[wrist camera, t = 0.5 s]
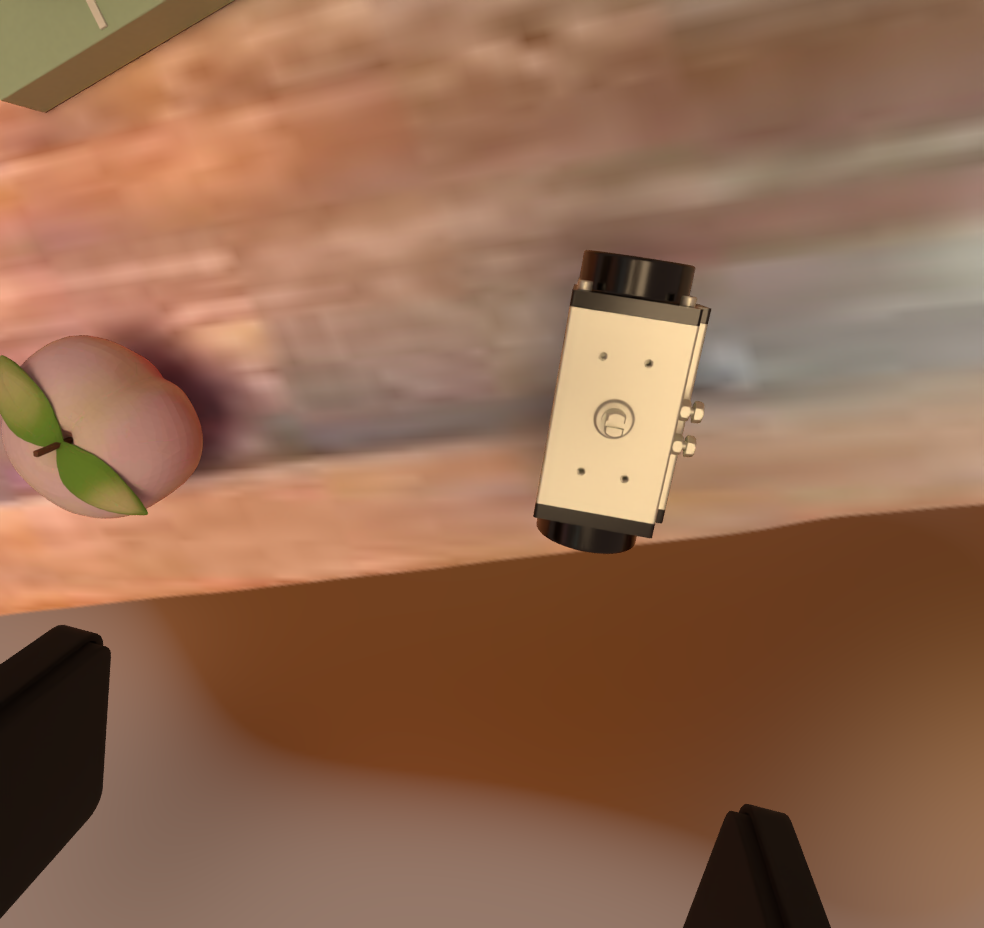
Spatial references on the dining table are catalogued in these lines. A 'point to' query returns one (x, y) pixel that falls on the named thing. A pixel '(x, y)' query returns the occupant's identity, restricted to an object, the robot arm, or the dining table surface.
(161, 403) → the decorative fruit
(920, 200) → the dining table surface
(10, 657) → the robot arm
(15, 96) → the dial panel
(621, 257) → the pneumatic valve
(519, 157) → the dining table surface
